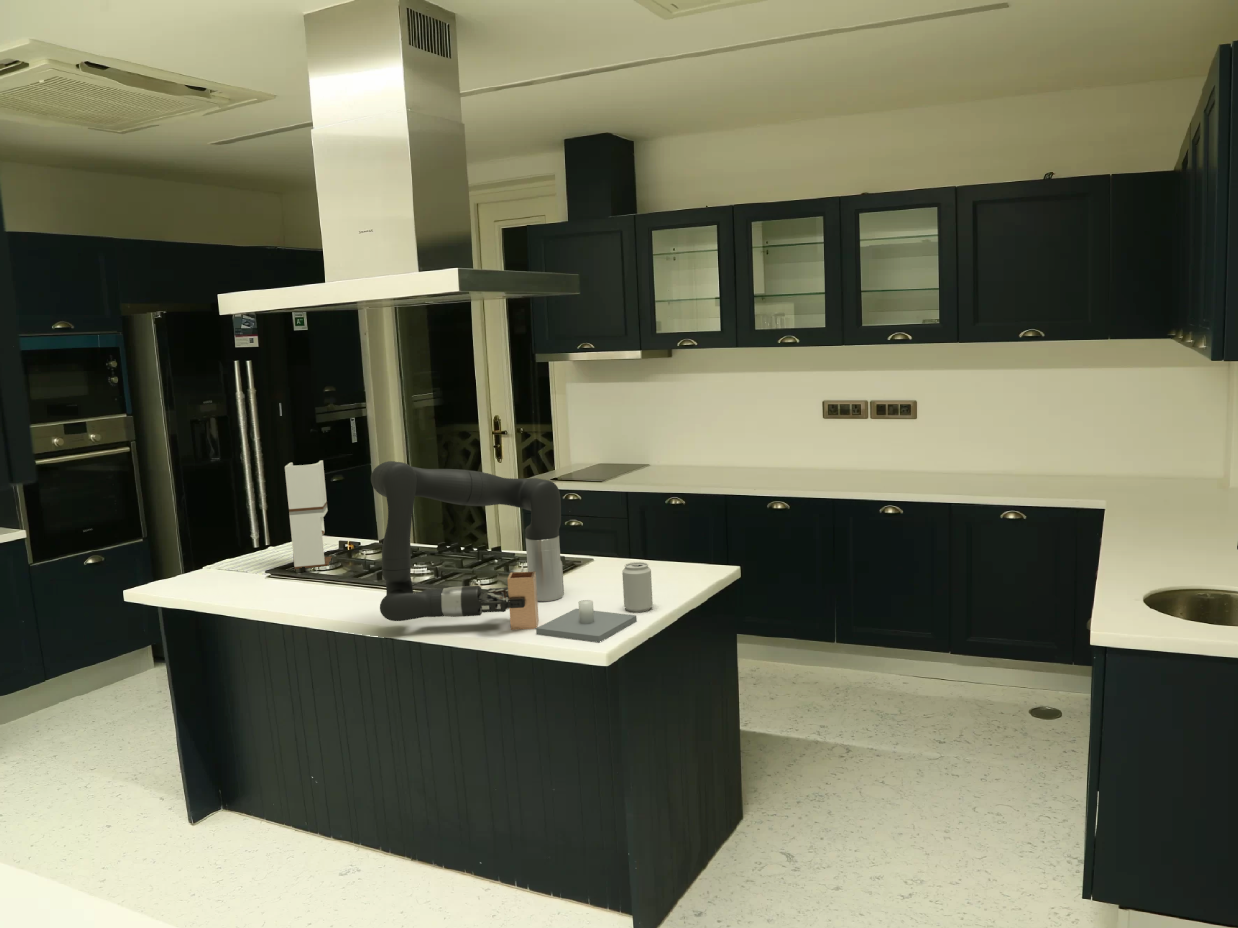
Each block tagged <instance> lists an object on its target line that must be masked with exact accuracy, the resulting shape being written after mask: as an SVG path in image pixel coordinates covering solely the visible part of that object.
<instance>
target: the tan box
mask: <svg viewBox="0 0 1238 928" xmlns="http://www.w3.org/2000/svg"><path fill="white" fill-rule="evenodd" d="M507 587H508V595H509V599H516V598H524V600H525V606H524V607H523V608H509V609H508V610H509V620H510V621H509V622H510V630H511V631H514V630H515V631H516V630H532V629H534V628H537V627H538V625H539V622H540V619H539V618H540V617H539V604H538V602H539V601H537V586H536V571H533V572H528V571H517V572H515V571H514V572H509V574H508V576H507Z"/></svg>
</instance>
